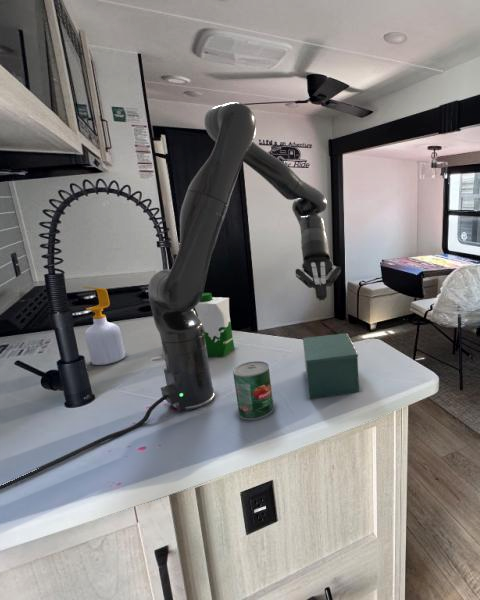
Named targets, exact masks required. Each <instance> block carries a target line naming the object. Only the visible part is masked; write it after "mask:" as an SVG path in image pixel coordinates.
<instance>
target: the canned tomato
mask: <svg viewBox="0 0 480 600" xmlns="http://www.w3.org/2000/svg"><path fill="white" fill-rule="evenodd" d="M270 374H271V373H270V365H269V363H268V362H265V361H259V360H254V361H253V360H252V361H248V362H243V363H241V364H238V365H237V366H235V367H234V368H233V370H232V375H233V380H234V387H235V396H236V401H237V409H238V416H239V418H241V419H243V420H246V421H255V420H256V421H257V420H260V419H263V418H265V417H267V416H269V415H271V414H272V412H273V411H274V409H275V408H274V400H273V391H272V383H271V375H270Z"/></svg>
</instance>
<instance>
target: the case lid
mask: <svg viewBox="0 0 480 600" xmlns="http://www.w3.org/2000/svg"><path fill="white" fill-rule="evenodd" d="M302 341H303V342H302V343H304V344H303V350H304V349H305V355H304V357H305V356H306V363H307V364H308V363H316V362H324V361H332V360H340V359H347V358H355V357H357V358H359V353H358V351H357V349H356V348H355V346H354V344H353V342H352V340H351V338H350V336H349V334H348V333H347V332H345V333H335V334H327V335H317V336H309V337H303V338H302Z"/></svg>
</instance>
